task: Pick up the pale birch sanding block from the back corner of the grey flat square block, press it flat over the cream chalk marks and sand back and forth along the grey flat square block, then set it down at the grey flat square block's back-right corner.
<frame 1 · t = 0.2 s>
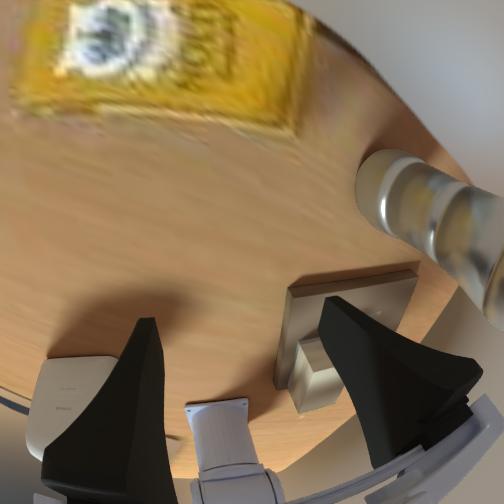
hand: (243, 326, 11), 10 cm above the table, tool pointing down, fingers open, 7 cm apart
sanding block: (311, 362, 28), point 1 cm above the table, touching grey flat square block
grey flat square block: (342, 330, 29), on the table
photo printer: (84, 365, 23), on the table
plastic bottle: (374, 181, 21), on the table
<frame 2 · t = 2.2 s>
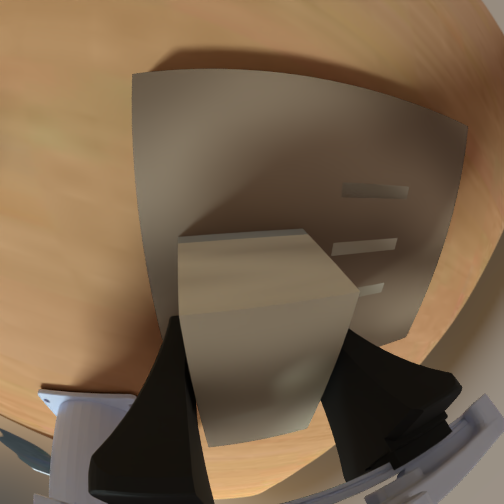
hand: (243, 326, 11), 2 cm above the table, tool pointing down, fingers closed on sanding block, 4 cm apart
sanding block: (241, 318, 12), point 1 cm above the table, touching gripper, grey flat square block
grey flat square block: (321, 243, 13), on the table
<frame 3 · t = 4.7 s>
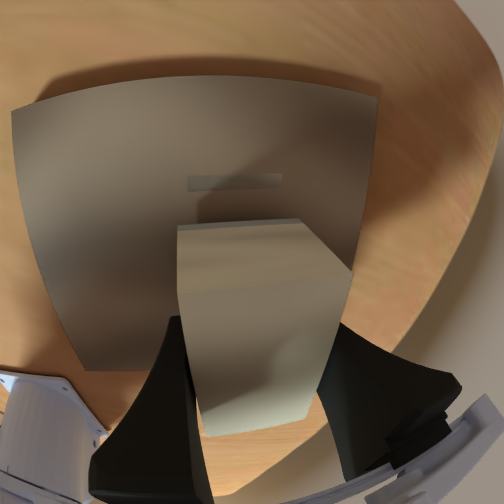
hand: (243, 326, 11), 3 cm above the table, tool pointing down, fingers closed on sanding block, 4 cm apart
sanding block: (239, 308, 12), point 2 cm above the table, touching gripper
grey flat square block: (196, 240, 12), on the table
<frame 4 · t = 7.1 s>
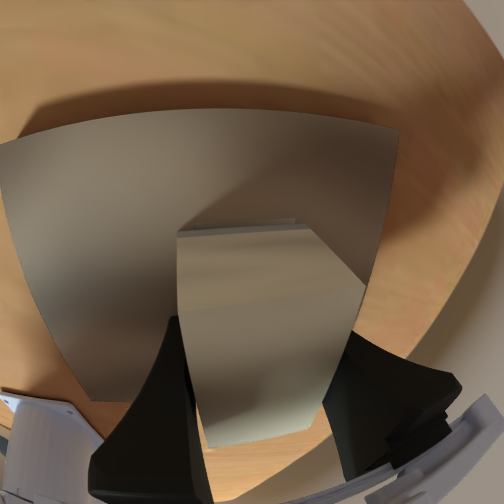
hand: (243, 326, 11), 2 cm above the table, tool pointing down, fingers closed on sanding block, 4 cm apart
sanding block: (241, 316, 11), point 2 cm above the table, touching gripper
grey flat square block: (202, 280, 12), on the table
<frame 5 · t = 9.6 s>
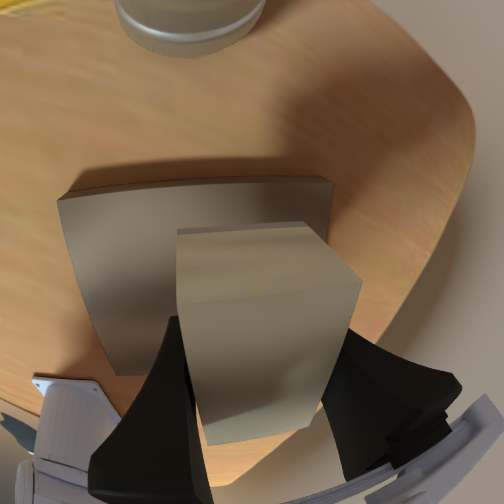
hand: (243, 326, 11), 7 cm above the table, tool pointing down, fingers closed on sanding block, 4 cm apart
sanding block: (241, 313, 11), point 6 cm above the table, touching gripper
grey flat square block: (200, 286, 18), on the table
plastic bottle: (188, 13, 10), on the table
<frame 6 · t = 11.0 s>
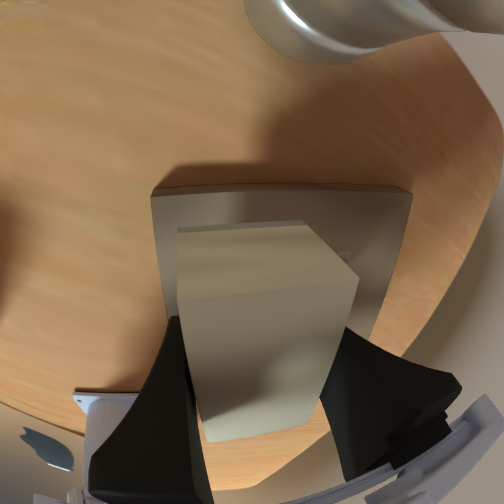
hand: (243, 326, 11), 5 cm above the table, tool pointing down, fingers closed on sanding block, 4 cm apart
sanding block: (240, 311, 12), point 5 cm above the table, touching gripper
grey flat square block: (285, 289, 18), on the table
plastic bottle: (295, 16, 10), on the table
when the fingers open (3 cm above the table, at t = 11.9 s): sanding block stays where it is, resting on grey flat square block.
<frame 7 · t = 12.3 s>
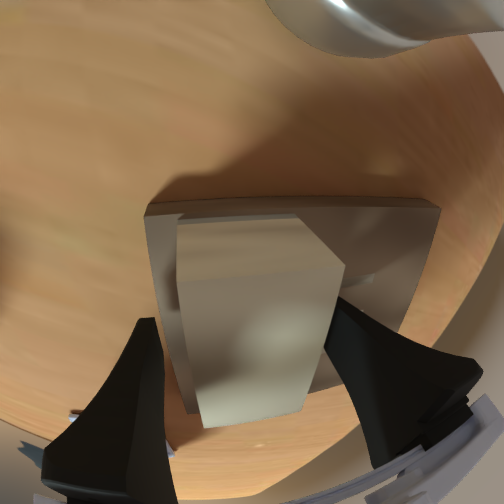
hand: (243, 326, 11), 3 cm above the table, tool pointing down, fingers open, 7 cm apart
sanding block: (236, 301, 12), point 1 cm above the table, touching grey flat square block
grey flat square block: (300, 313, 16), on the table
plastic bottle: (316, 1, 8), on the table
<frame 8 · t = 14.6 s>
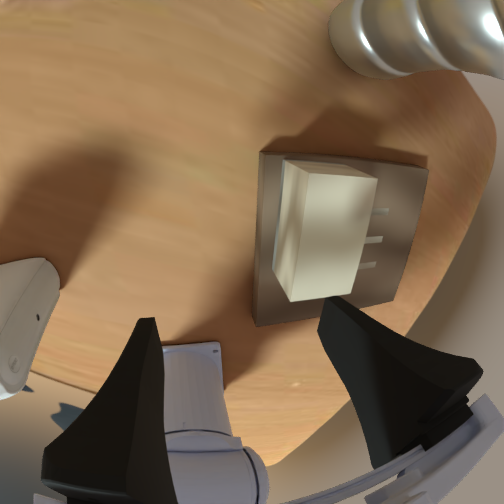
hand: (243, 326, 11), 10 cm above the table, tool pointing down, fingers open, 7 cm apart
sanding block: (307, 217, 19), point 1 cm above the table, touching grey flat square block
grey flat square block: (341, 238, 23), on the table
photo printer: (18, 279, 17), on the table
plastic bottle: (354, 41, 15), on the table
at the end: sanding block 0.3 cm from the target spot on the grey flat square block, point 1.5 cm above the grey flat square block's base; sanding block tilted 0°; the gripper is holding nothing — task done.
